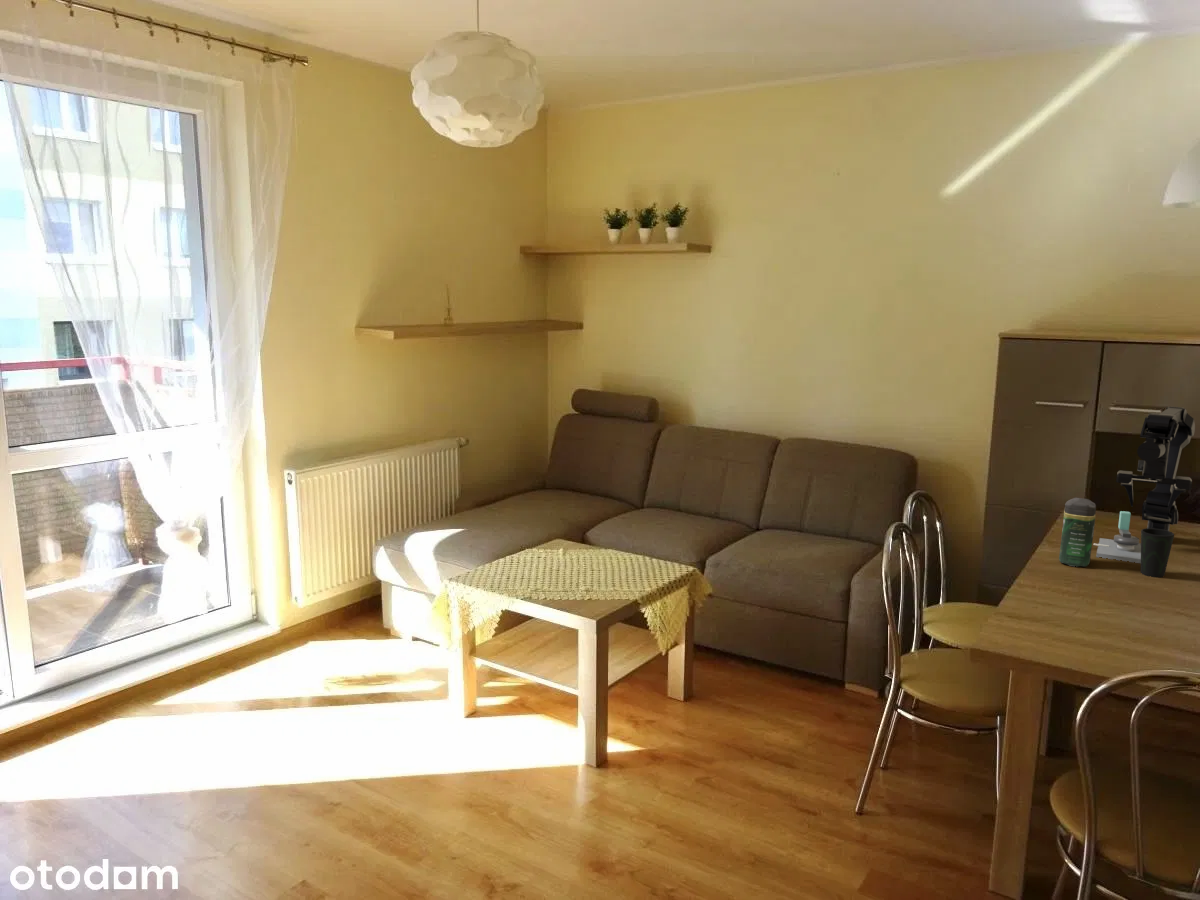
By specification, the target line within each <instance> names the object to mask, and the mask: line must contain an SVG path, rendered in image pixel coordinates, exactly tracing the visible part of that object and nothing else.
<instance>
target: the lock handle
mask: <svg viewBox="0 0 1200 900" xmlns="http://www.w3.org/2000/svg"><path fill="white" fill-rule="evenodd" d="M1131 515H1132V514H1131V512H1130V511H1124V510H1123V511H1122V510H1120V511H1119V518H1118V526H1117V527H1118V532H1119V534H1114V536H1113V540H1114V542H1116V543H1119V544H1123V545H1138V544H1139V543H1140V538H1139V537H1137V536H1133V535H1132V533H1131V532H1130V531H1129V530H1130V523H1131Z"/></svg>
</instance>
